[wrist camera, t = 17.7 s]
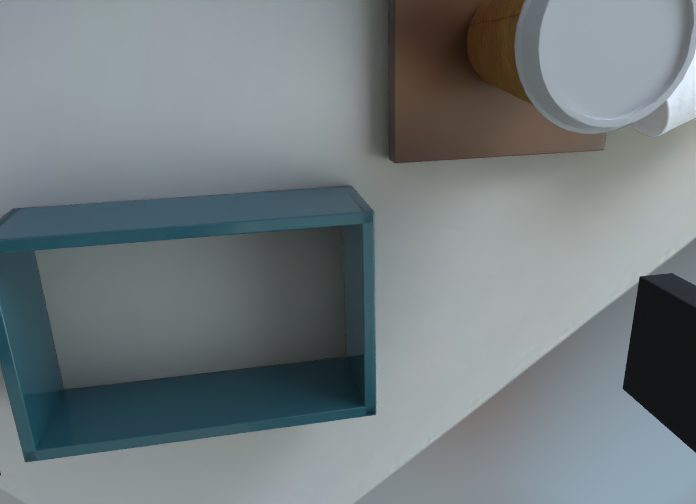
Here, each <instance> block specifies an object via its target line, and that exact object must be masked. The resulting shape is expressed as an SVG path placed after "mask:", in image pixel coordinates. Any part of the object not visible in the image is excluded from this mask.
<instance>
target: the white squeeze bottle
mask: <svg viewBox="0 0 696 504" xmlns="http://www.w3.org/2000/svg"><path fill="white" fill-rule="evenodd" d="M694 118H696V50H695V54H694V58H693V60H692V62H691V64H690V66H689V68H688V70H687V72H686V74H685V76H684V78H683V80H682V81H681V83H680V84H679V85H678V87H677V88H676V89H675V91H674V92H673V93H672V94H671V96H670V97H669V98H668V99H667V100H666V101H665V102H664V103H663V104H661V105H660V106H659V107H658V108H657V109H656V110H654V111H653V112H651V113H650V114H648V115H647V116H645V117H643V118H641V119H639V120H637V121H635V122H633V123H631V125H632V126H633V127H634V128H635V129H636V130H637V131H639V132H641V133H642V134H644V135H646V136H650V137H656V136H659V135H661V134H663V133H665V132H667V131H669V130H671V129H673V128H675V127H677V126H679V125H681V124H684V123H686V122H687V121H690V120H692V119H694Z"/></svg>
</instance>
